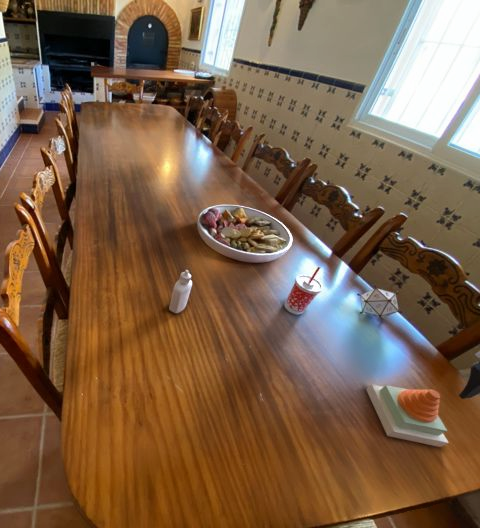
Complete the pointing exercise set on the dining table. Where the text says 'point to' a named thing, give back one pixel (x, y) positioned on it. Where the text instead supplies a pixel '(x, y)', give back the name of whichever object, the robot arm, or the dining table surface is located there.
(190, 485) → the dining table surface
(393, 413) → the top block
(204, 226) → the bowl
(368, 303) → the game die
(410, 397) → the cone
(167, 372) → the dining table surface
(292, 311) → the beverage cup
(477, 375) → the robot arm
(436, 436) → the base block
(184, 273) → the eye dropper bottle
